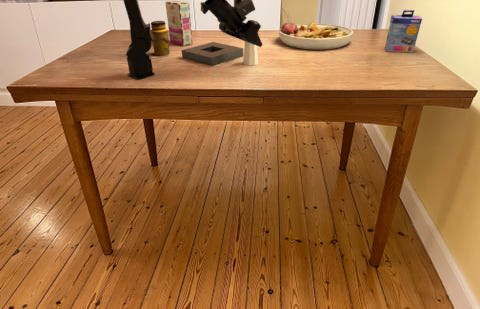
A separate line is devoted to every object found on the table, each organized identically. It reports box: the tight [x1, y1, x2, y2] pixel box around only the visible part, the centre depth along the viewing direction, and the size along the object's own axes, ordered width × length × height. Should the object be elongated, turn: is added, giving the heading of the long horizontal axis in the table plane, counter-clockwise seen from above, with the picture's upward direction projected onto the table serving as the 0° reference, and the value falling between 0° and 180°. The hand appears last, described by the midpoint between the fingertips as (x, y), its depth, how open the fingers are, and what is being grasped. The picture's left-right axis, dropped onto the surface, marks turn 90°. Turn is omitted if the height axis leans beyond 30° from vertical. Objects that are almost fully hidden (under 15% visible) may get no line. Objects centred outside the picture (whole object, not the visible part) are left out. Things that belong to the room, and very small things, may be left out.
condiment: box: [147, 20, 174, 59], centre depth 126 cm, size 7×8×12 cm
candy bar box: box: [164, 0, 193, 47], centre depth 140 cm, size 11×5×16 cm, turn 41°
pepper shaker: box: [242, 41, 259, 66], centre depth 114 cm, size 5×5×11 cm
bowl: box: [278, 22, 354, 51], centre depth 139 cm, size 30×30×8 cm
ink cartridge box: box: [384, 9, 423, 53], centre depth 123 cm, size 10×6×14 cm, turn 78°
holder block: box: [181, 41, 244, 67], centre depth 123 cm, size 16×16×3 cm
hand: (254, 43), depth 114 cm, fingers open, 9 cm apart
